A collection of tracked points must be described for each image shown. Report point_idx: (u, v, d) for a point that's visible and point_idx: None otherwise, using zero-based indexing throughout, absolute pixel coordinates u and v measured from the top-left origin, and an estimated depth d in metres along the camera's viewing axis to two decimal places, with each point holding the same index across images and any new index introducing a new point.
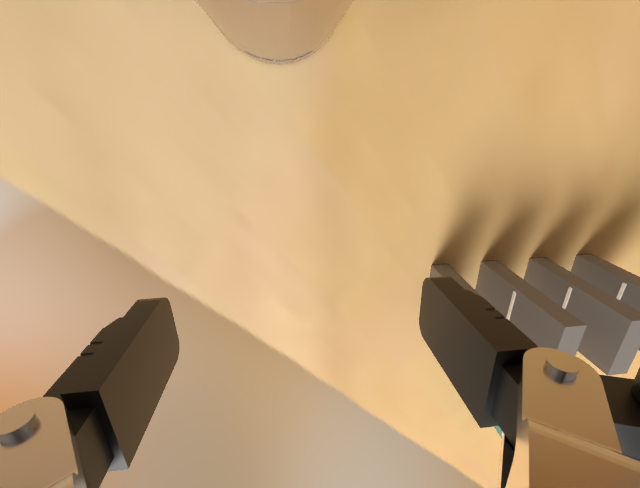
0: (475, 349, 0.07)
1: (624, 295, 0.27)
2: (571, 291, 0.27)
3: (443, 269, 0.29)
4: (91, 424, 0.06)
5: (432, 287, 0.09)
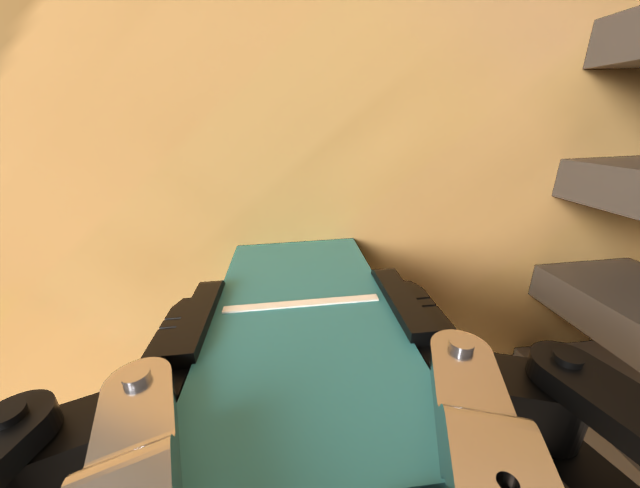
0: None
1: None
2: None
3: None
4: None
5: (375, 278, 0.10)
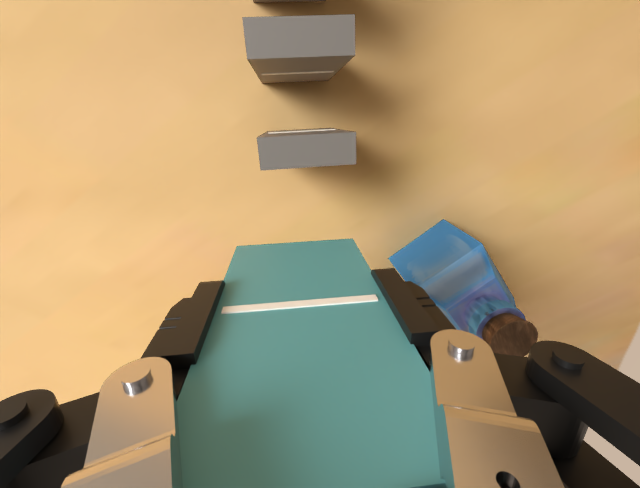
0: None
1: (321, 130, 0.20)
2: None
3: None
4: None
5: (375, 278, 0.10)
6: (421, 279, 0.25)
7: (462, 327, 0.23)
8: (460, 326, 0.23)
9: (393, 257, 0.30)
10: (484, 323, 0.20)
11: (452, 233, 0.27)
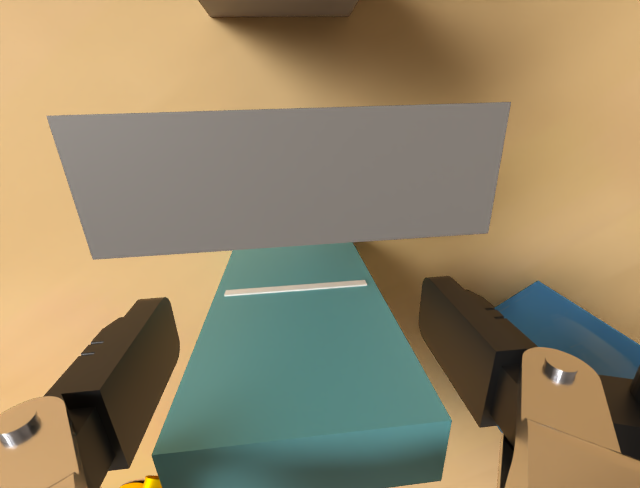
0: (475, 349, 0.07)
1: None
2: None
3: None
4: (92, 423, 0.06)
5: (432, 287, 0.09)
6: None
7: None
8: None
9: None
10: None
11: (571, 316, 0.14)
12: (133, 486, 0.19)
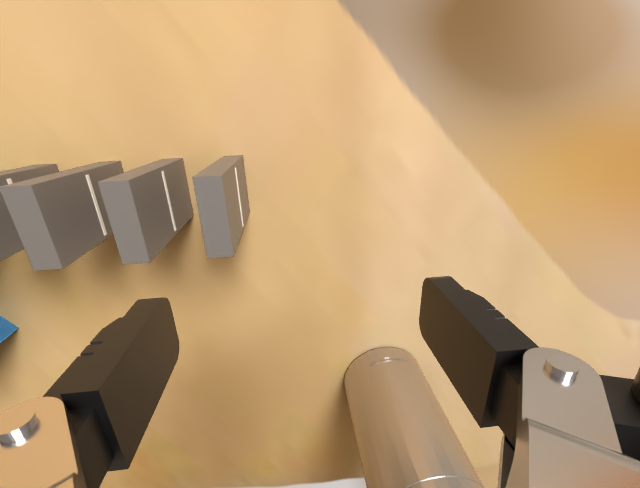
0: (475, 349, 0.07)
1: None
2: (103, 232, 0.23)
3: None
4: (91, 424, 0.06)
5: (432, 287, 0.09)
6: None
7: None
8: None
9: None
10: None
11: None
12: None
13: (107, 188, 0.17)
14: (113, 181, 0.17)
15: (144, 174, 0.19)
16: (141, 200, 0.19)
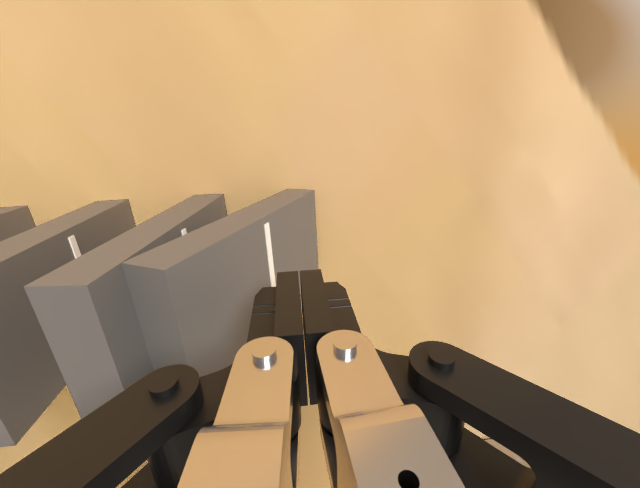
0: (305, 333, 0.08)
1: None
2: None
3: None
4: (297, 362, 0.07)
5: (300, 279, 0.10)
6: None
7: None
8: None
9: None
10: None
11: None
12: None
13: (45, 300, 0.08)
14: (57, 285, 0.08)
15: (139, 251, 0.10)
16: (126, 310, 0.09)
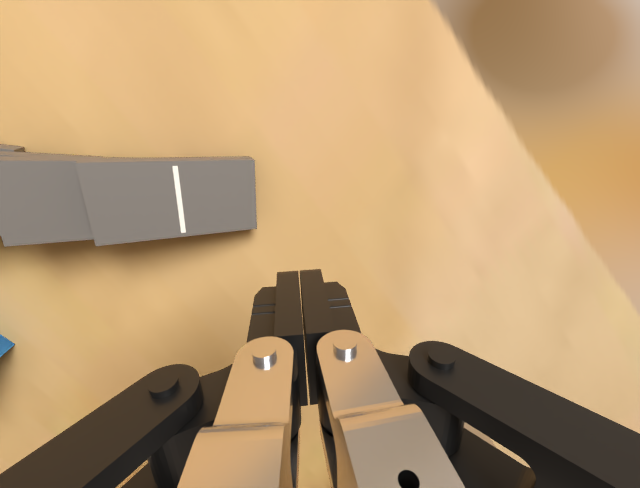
0: (305, 333, 0.08)
1: None
2: None
3: None
4: (297, 362, 0.07)
5: (300, 279, 0.10)
6: None
7: None
8: None
9: None
10: None
11: None
12: None
13: None
14: None
15: (29, 161, 0.18)
16: (7, 184, 0.18)
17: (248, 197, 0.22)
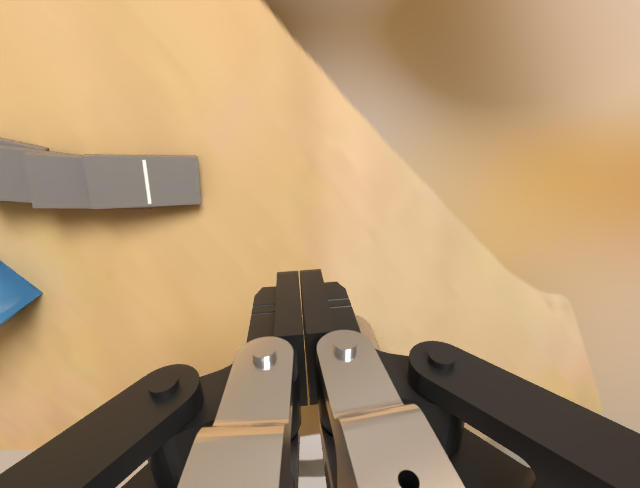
0: (305, 333, 0.08)
1: None
2: None
3: None
4: (297, 362, 0.07)
5: (300, 279, 0.10)
6: None
7: None
8: None
9: None
10: None
11: (20, 301, 0.35)
12: None
13: None
14: (26, 153, 0.29)
15: (53, 156, 0.29)
16: (39, 170, 0.29)
17: (194, 182, 0.34)
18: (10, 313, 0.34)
